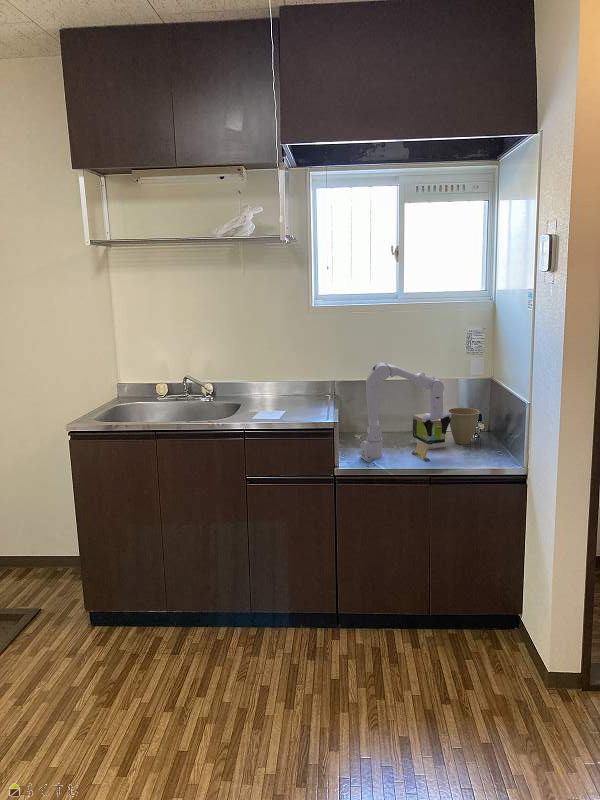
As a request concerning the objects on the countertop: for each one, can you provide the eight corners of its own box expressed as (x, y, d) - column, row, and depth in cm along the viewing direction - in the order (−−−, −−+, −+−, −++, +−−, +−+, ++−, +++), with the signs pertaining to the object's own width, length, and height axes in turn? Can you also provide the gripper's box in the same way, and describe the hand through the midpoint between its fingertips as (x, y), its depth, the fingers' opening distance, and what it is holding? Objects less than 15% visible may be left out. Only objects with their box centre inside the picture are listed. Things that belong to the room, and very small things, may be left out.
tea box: (445, 449, 289) (446, 419, 286) (427, 451, 286) (427, 421, 283) (429, 440, 303) (430, 412, 300) (411, 443, 300) (412, 414, 297)
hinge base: (425, 464, 269) (425, 458, 268) (411, 456, 280) (411, 451, 279) (443, 461, 272) (443, 456, 271) (429, 453, 283) (429, 448, 282)
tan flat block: (427, 446, 269) (430, 447, 270) (417, 441, 277) (420, 442, 278) (423, 461, 270) (426, 462, 271) (413, 456, 278) (417, 456, 279)
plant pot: (477, 447, 289) (479, 415, 286) (445, 445, 294) (446, 414, 290) (478, 439, 303) (480, 408, 299) (448, 437, 307) (449, 406, 304)
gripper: (427, 409, 266) (428, 439, 269) (455, 405, 271) (455, 434, 274) (419, 406, 272) (419, 435, 275) (446, 402, 278) (446, 430, 281)
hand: (436, 434), depth 275 cm, fingers open, 7 cm apart
